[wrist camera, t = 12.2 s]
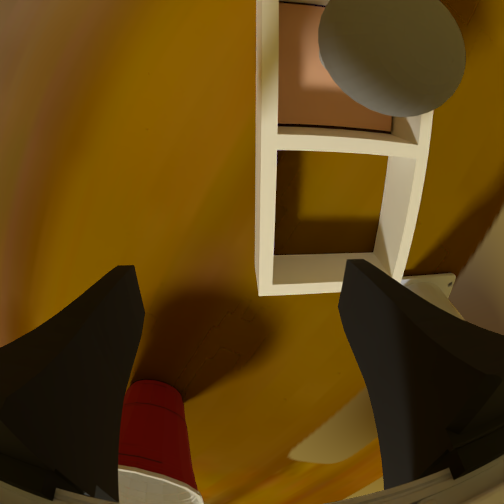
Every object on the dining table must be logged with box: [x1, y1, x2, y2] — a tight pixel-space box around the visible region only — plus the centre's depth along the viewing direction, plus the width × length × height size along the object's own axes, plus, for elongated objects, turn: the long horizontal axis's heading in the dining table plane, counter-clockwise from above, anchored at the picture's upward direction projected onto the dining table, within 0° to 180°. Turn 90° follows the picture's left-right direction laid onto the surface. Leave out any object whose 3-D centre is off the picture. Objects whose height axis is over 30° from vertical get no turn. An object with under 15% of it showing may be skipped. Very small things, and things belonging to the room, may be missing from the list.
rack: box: [255, 0, 434, 296], centre depth 15 cm, size 27×10×4 cm, turn 0°
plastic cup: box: [118, 380, 204, 504], centre depth 24 cm, size 11×11×12 cm
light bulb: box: [318, 0, 466, 117], centre depth 11 cm, size 6×6×10 cm
